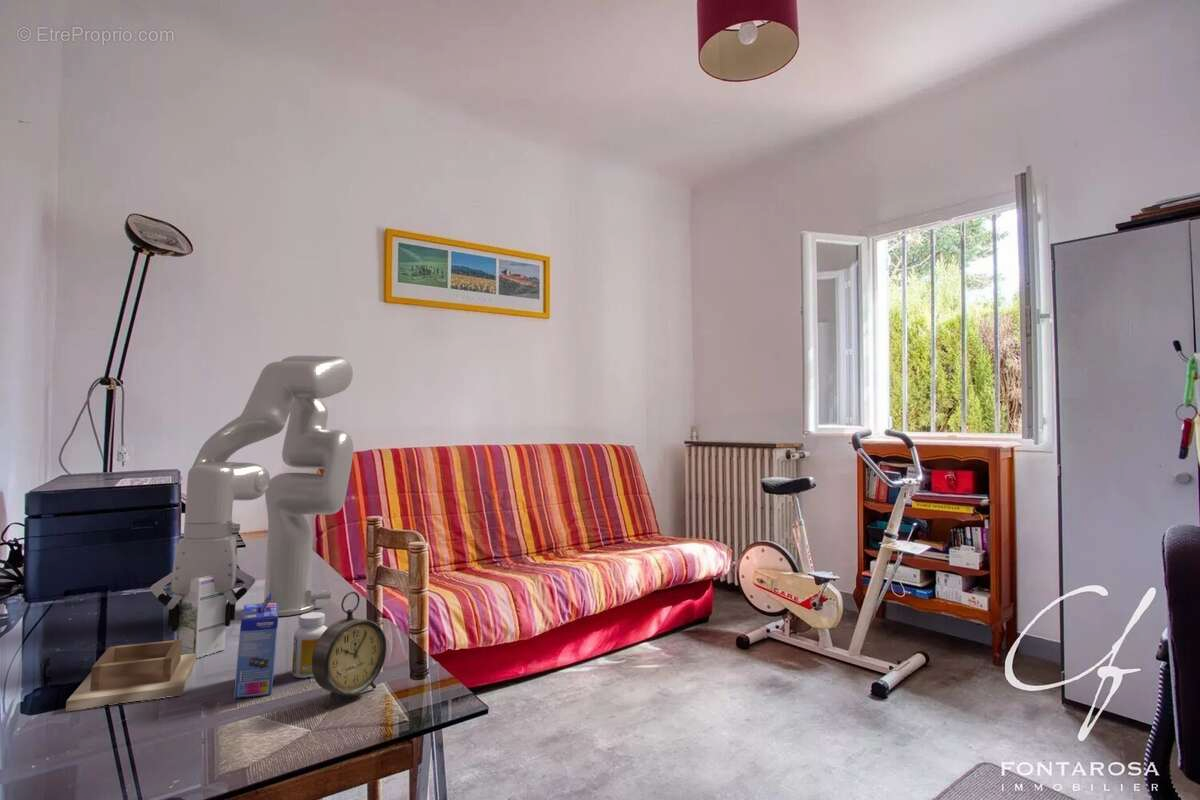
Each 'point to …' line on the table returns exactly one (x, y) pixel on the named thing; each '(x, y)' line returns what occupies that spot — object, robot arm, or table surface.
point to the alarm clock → (349, 655)
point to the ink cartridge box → (257, 649)
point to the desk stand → (134, 675)
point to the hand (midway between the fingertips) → (201, 626)
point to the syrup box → (202, 618)
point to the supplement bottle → (306, 643)
